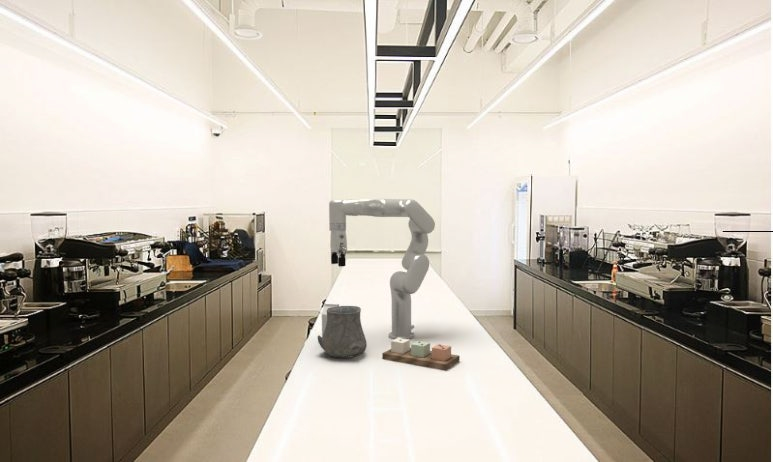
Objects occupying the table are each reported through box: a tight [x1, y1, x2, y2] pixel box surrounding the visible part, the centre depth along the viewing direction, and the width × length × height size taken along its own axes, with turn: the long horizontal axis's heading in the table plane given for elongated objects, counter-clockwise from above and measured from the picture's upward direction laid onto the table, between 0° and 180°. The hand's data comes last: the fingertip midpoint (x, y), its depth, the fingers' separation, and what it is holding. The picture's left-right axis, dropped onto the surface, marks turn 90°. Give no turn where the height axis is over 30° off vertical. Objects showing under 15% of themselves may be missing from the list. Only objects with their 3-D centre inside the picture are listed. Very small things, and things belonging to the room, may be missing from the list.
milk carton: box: [321, 303, 340, 337], centre depth 230 cm, size 7×7×19 cm
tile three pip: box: [431, 344, 452, 361], centre depth 203 cm, size 6×6×5 cm
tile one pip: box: [390, 338, 411, 354], centre depth 213 cm, size 6×6×5 cm
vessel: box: [317, 305, 368, 359], centre depth 215 cm, size 22×22×20 cm
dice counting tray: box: [381, 347, 461, 372], centre depth 208 cm, size 29×13×2 cm, turn 59°
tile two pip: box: [410, 340, 431, 358], centre depth 208 cm, size 6×6×5 cm
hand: (338, 265), depth 229 cm, fingers open, 9 cm apart
